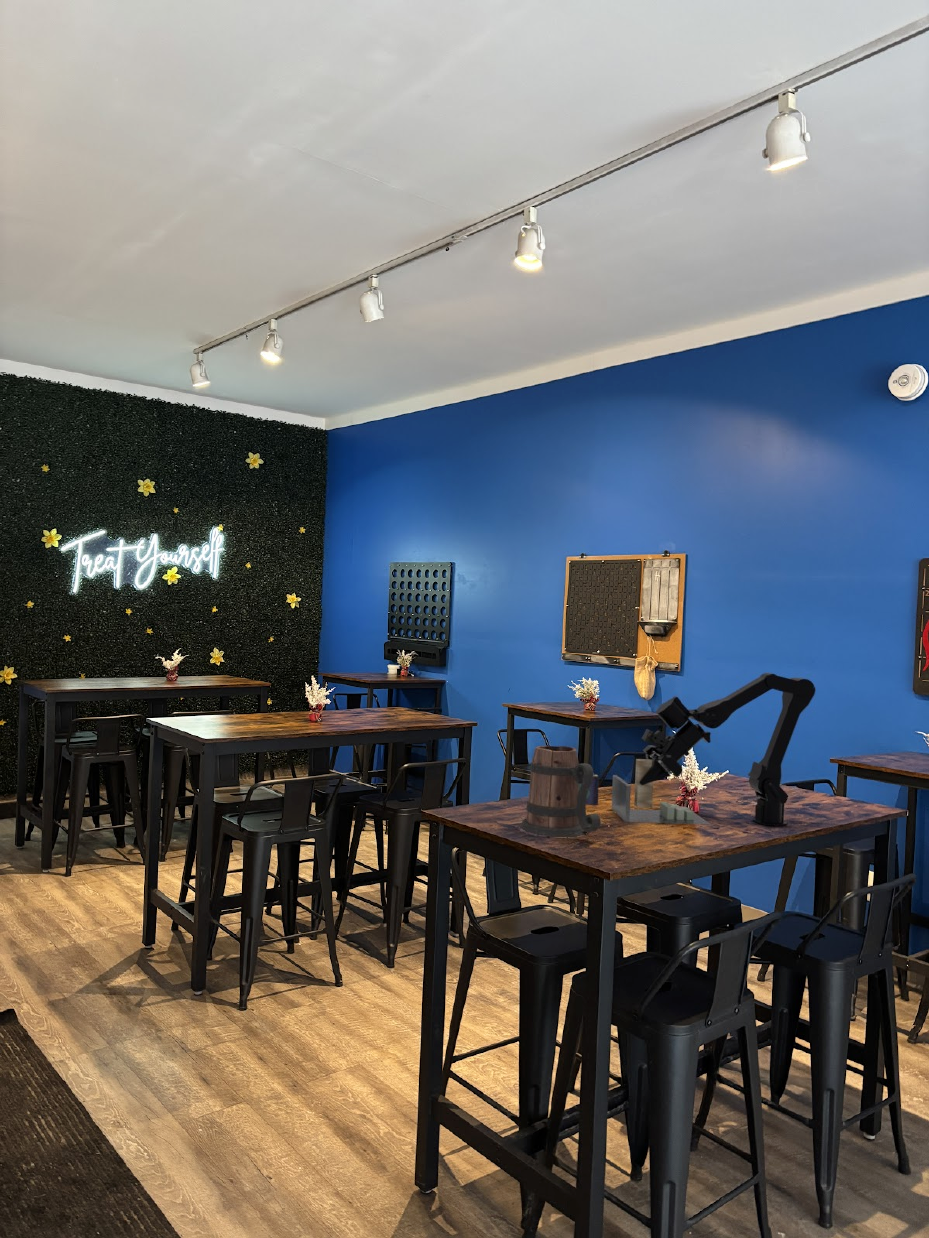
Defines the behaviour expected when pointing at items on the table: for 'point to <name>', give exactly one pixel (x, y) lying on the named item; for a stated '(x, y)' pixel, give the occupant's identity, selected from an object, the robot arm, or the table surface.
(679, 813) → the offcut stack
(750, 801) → the table surface
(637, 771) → the birch block
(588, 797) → the flask
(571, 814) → the tankard
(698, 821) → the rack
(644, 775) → the robot arm
